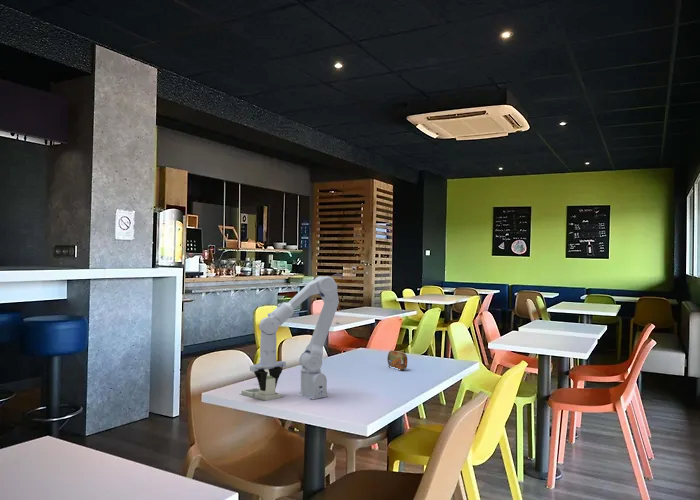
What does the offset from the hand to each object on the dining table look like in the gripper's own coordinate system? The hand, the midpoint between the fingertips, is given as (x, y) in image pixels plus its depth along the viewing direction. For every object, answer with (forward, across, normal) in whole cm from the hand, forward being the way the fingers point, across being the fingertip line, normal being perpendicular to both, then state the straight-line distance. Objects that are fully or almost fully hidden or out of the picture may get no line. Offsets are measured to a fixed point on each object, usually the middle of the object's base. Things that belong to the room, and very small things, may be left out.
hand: (268, 389), depth 194 cm
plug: (+2, 0, 0) cm, 2 cm away
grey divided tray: (+3, 0, -4) cm, 5 cm away
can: (+3, -14, -19) cm, 24 cm away
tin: (+4, -81, -7) cm, 81 cm away
